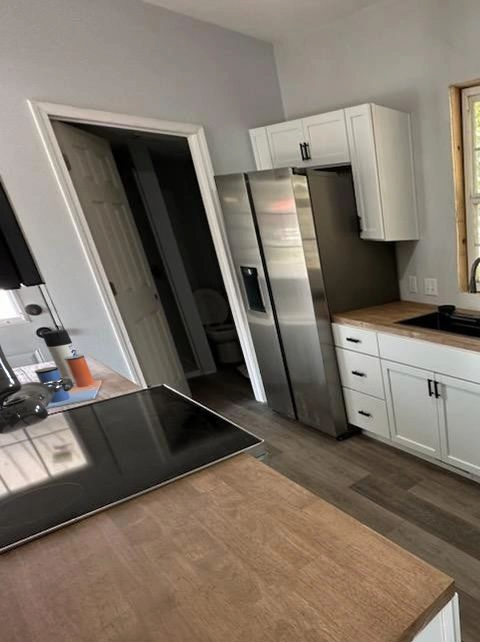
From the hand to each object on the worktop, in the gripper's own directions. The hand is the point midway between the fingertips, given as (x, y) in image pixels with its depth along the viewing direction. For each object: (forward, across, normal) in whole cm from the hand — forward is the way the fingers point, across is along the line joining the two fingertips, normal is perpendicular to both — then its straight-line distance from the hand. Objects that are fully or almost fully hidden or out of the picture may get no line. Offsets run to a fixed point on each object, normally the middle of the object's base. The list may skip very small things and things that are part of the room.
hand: (43, 383), depth 130 cm
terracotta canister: (+24, -5, +8) cm, 26 cm away
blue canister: (+9, 0, +8) cm, 12 cm away
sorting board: (+15, -2, +9) cm, 18 cm away
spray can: (+35, -1, +9) cm, 36 cm away
